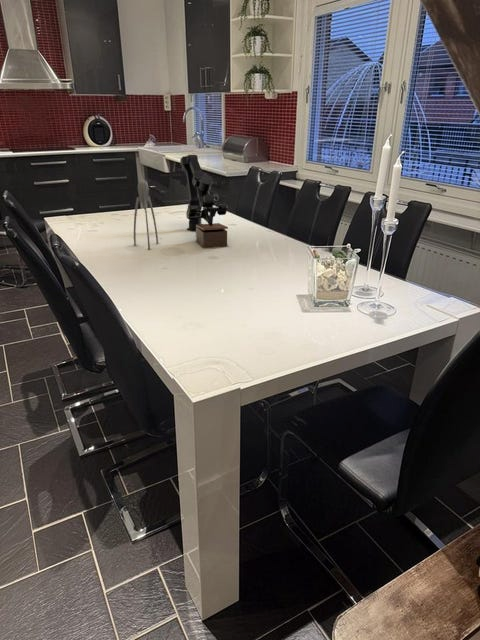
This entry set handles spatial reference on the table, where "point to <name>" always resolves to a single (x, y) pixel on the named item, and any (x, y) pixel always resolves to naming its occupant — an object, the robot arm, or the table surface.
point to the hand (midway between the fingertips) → (211, 225)
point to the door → (213, 227)
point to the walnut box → (211, 238)
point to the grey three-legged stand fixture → (143, 199)
